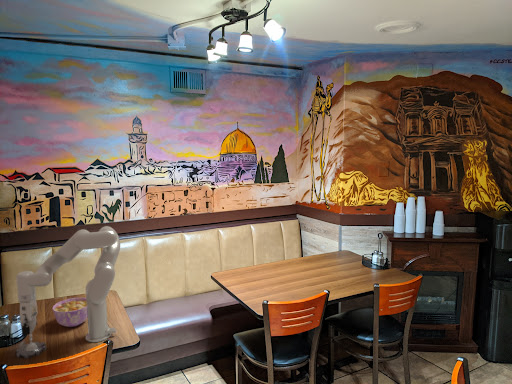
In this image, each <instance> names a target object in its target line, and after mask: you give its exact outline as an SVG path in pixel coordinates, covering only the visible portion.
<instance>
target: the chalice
mask: <svg viewBox="0 0 512 384" xmlns="http://www.w3.org/2000/svg"><path fill="white" fill-rule="evenodd" d="M36 314H37V312H36ZM37 315H38V314H37ZM37 315H34V316H33V320H32V321H29V325H28V326H29V329H30V334H29V335H28V337H29V339H28V340H29V343H27V344H28V345H27V348H26V351H32V350H35V349H37V345H36V344H35V343H34V342H33V339H34V338H33V334H32V333H33V332H34V331H35V328H36V326H37V325H36V323H37V324H38V322H37V321H38V320H37V321H36V319H37ZM25 320H27V318H25ZM25 323H26V324H27V322H25Z"/></svg>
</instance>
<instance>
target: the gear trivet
mask: <svg viewBox="0 0 512 384" xmlns="http://www.w3.org/2000/svg"><path fill="white" fill-rule="evenodd" d="M33 343H35V344H36V345H37V349H35V350H32V351H26V348H27V345H28V344H29V343H26V344H23V345H22V347H20V348H17V349H16V358H24V359H29V358H30V357H35V356H37V357H38V356H39V355H41V353H42V352H44V351H46V350H47V344H46V342H39V341H34V342H33Z"/></svg>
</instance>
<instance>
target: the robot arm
mask: <svg viewBox="0 0 512 384" xmlns="http://www.w3.org/2000/svg"><path fill="white" fill-rule="evenodd" d="M95 249H101V253H100V256H99V258H98V261H97V262H96V265H95V266H94V269H93V270H94V271H93V272H94V277H93V278H92V279H90V280H88V282H87V284H86V285H85V298H86V300H87V328H88V333H87V334H86V335H85V340H86V341H87V342H89V343H99V342H103V341H105V340H107V339H108V338H110V337H111V335H112V333H113V334H116V333H117V328H115V327H110V326H109V325H108V314H107V313H108V311H107V309H108V308H107V297H108V295H109V292H110V290H111V288H112V286H113V282H114V280H115V277H116V270H115V265H116V262H117V259H118V257H119V254H120V250H121V240H120V236H119V235H118V233H117V231H116V230H115V229H114V228H112V227H111V226H109V225H104V226H102V227H101V228H100V229H99V230H98V231H92V232H90V231H88V230H87V229H83V228H82V229H78V230H77V231H76V232H75V233H74V234H73V235H71V237H70V238H69V239H68V240H66V242H65V243H64V244H63V245H62V246H61V247H60V248H58V250H56V251H55V252H54V253H53V254H52V255H51V256H49V257H48V258H47V259H46V260H45V261H43V263H42V264H41V265H40V266H39V267H38V268H37V270H36V271H35V272H34V271H32V270H25V271H20V272H18V273H17V274H16V275H15V276H16V288H17V291H16V292H17V300H18V303H19V319H20V321H19V322H20V327H21V334H22V336H26V335H27V336H29V334H30V329H29V326H28V325H29V321H32V320H33V316H34V315H36V316H38V314H39V312H38V311H39V310H38V303H37V291H36V287H38V288H39V287H47V286H48V285H50V284H51V283H52V280H53V274H55V273H56V271H58V269H60V268H61V267H62V266H63V265H65V264H66V263H70V262H73V260H75V258H76V257H77V256H79V254H80V253H81V252H82V251H83V250H84V251H86V250H95ZM36 312H37V314H36ZM25 318H27V320H25ZM36 321H38V319H37V318H36ZM25 322H27V324H26V323H25ZM37 324H38V322H37V323H36V326H38V325H37Z"/></svg>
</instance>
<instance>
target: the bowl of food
mask: <svg viewBox="0 0 512 384" xmlns="http://www.w3.org/2000/svg"><path fill="white" fill-rule="evenodd" d="M52 311H53V314H54V317H55V319H56V322H57V323H58V324H59V325H60V326H64V327H67V328H74V327H77V326H79V325H81V324H82V323H84V322H85V321H87V320H88V317H87V300H86V297H73V298H67V299H64V300H61V301H58V302H56V303H55V304H54V305H53V307H52Z"/></svg>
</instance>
